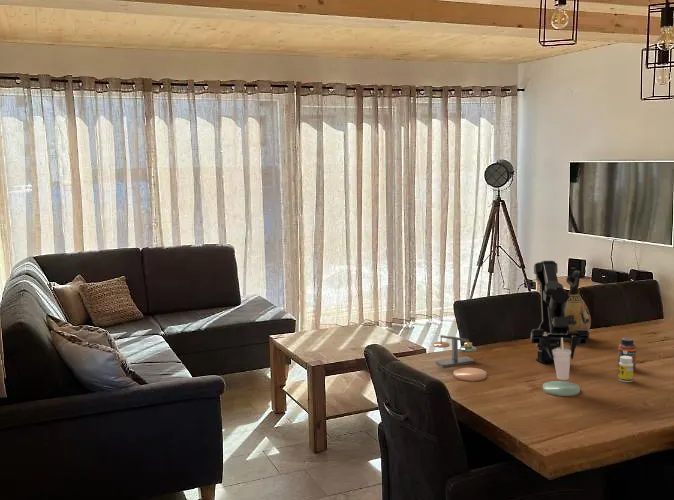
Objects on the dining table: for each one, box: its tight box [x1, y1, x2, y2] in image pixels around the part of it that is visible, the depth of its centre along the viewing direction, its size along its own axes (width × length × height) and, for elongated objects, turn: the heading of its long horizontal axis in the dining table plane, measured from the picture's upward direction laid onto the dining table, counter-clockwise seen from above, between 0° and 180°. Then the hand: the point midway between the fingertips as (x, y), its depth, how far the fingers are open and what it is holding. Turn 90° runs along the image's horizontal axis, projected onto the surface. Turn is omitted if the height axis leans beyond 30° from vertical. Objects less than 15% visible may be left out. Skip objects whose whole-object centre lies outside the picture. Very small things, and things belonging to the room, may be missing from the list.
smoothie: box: [552, 338, 571, 381], centre depth 224 cm, size 6×6×14 cm
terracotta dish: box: [453, 367, 488, 382], centre depth 243 cm, size 12×12×1 cm
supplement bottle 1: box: [617, 337, 637, 371], centre depth 245 cm, size 6×6×11 cm
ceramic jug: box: [563, 270, 592, 343], centre depth 286 cm, size 17×15×30 cm
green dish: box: [542, 380, 581, 397], centre depth 225 cm, size 12×12×1 cm
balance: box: [432, 334, 477, 368], centre depth 259 cm, size 18×6×12 cm, turn 110°
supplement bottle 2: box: [617, 356, 634, 383], centre depth 232 cm, size 5×5×8 cm
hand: (562, 358), depth 223 cm, fingers closed on smoothie, 6 cm apart
